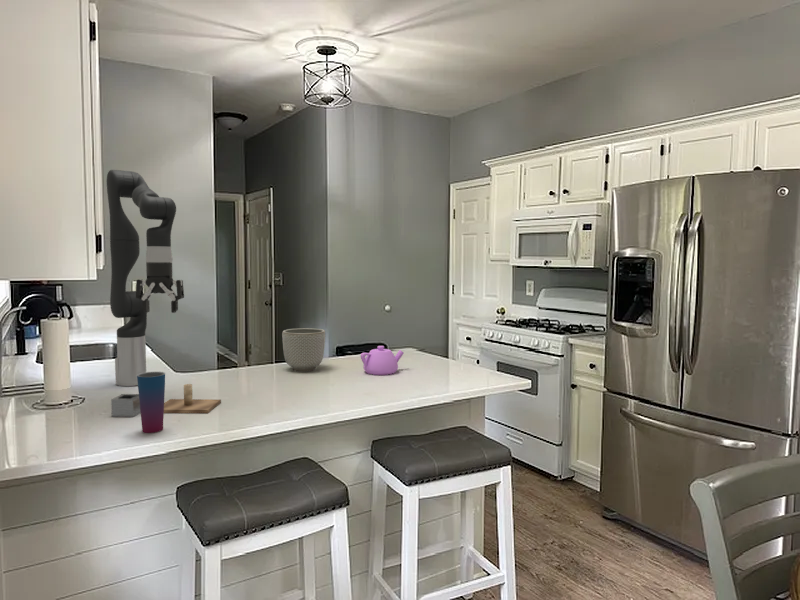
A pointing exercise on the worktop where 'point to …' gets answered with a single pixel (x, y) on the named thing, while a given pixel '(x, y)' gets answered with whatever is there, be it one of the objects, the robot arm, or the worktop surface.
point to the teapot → (381, 361)
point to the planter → (303, 348)
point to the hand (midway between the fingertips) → (160, 312)
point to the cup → (151, 400)
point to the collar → (125, 405)
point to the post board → (190, 408)
